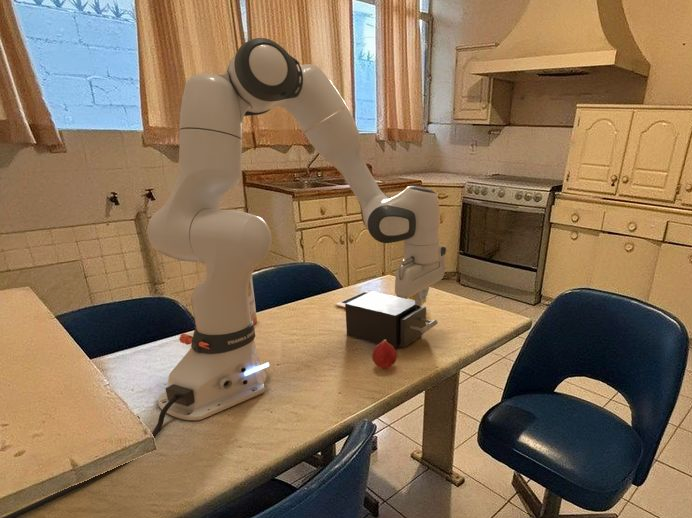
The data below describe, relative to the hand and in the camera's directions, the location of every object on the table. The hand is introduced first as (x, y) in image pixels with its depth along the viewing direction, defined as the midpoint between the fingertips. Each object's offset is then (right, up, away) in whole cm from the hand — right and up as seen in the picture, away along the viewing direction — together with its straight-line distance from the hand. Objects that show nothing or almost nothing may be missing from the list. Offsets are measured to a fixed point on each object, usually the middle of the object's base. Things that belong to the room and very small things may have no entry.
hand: (420, 303), depth 120 cm
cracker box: (-52, -8, +10) cm, 53 cm away
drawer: (-6, -9, +7) cm, 12 cm away
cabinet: (-10, -8, +9) cm, 16 cm away
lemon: (-2, +2, +35) cm, 35 cm away
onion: (-9, -16, -10) cm, 21 cm away
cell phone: (-20, +2, +34) cm, 40 cm away
